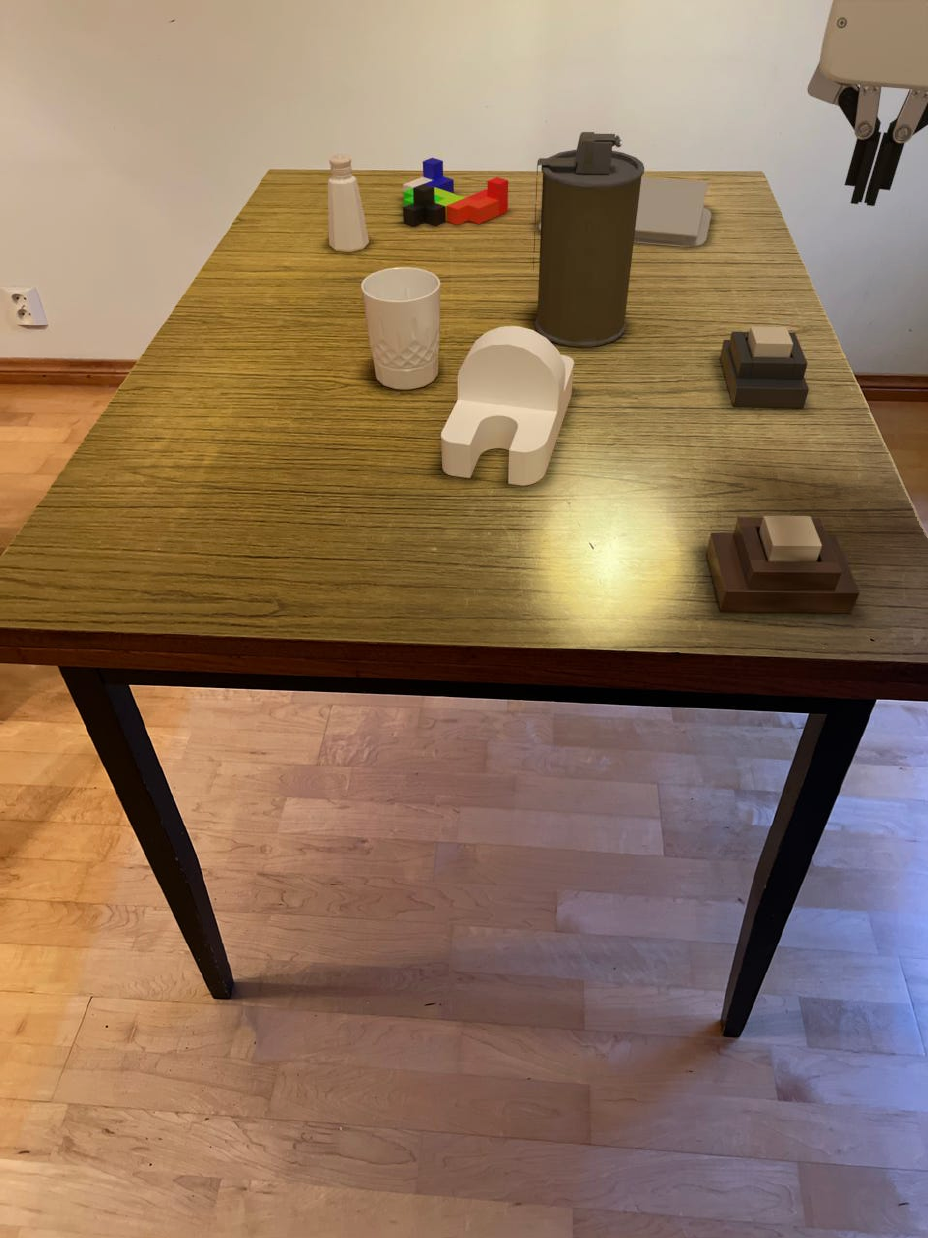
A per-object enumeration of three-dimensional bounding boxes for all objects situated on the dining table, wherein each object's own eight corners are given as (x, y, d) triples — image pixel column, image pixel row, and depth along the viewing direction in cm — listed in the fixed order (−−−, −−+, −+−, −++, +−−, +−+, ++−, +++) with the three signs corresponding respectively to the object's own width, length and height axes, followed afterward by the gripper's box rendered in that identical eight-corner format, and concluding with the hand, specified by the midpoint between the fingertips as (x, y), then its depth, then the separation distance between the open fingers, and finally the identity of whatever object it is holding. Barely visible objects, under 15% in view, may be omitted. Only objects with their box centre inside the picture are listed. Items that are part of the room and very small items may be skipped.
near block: (828, 554, 73) (841, 515, 70) (851, 613, 68) (867, 574, 65) (706, 552, 73) (714, 514, 70) (720, 611, 68) (730, 573, 65)
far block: (803, 408, 89) (814, 372, 86) (733, 406, 89) (741, 370, 86) (785, 359, 96) (794, 324, 93) (719, 357, 96) (726, 323, 93)
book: (556, 194, 132) (557, 166, 129) (712, 206, 127) (717, 178, 124) (534, 233, 121) (535, 203, 119) (704, 248, 117) (709, 218, 114)
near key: (804, 533, 69) (810, 515, 68) (816, 563, 66) (822, 545, 65) (758, 532, 69) (763, 515, 68) (768, 563, 67) (773, 545, 65)
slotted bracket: (540, 488, 80) (546, 391, 73) (438, 473, 82) (434, 377, 75) (573, 387, 92) (581, 296, 85) (484, 377, 94) (484, 287, 87)
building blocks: (372, 211, 128) (369, 180, 125) (433, 187, 135) (432, 157, 131) (447, 238, 121) (446, 205, 118) (508, 211, 127) (508, 179, 124)
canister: (624, 306, 105) (645, 121, 91) (627, 349, 98) (650, 154, 84) (533, 304, 106) (540, 120, 92) (529, 346, 99) (536, 152, 85)
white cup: (447, 357, 97) (444, 267, 90) (438, 394, 92) (435, 302, 84) (376, 355, 98) (368, 265, 91) (364, 392, 92) (354, 299, 85)
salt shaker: (329, 253, 118) (318, 165, 110) (328, 237, 121) (318, 151, 114) (370, 251, 118) (362, 162, 110) (368, 235, 122) (360, 148, 114)
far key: (789, 359, 88) (793, 343, 87) (752, 359, 89) (756, 342, 87) (782, 342, 91) (786, 326, 90) (747, 341, 91) (750, 325, 90)
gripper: (1111, -156, 49) (980, 192, 62) (830, -158, 53) (762, 168, 66) (1127, -144, 44) (980, 232, 57) (816, -147, 48) (745, 203, 61)
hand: (863, 197), depth 61 cm, fingers closed
